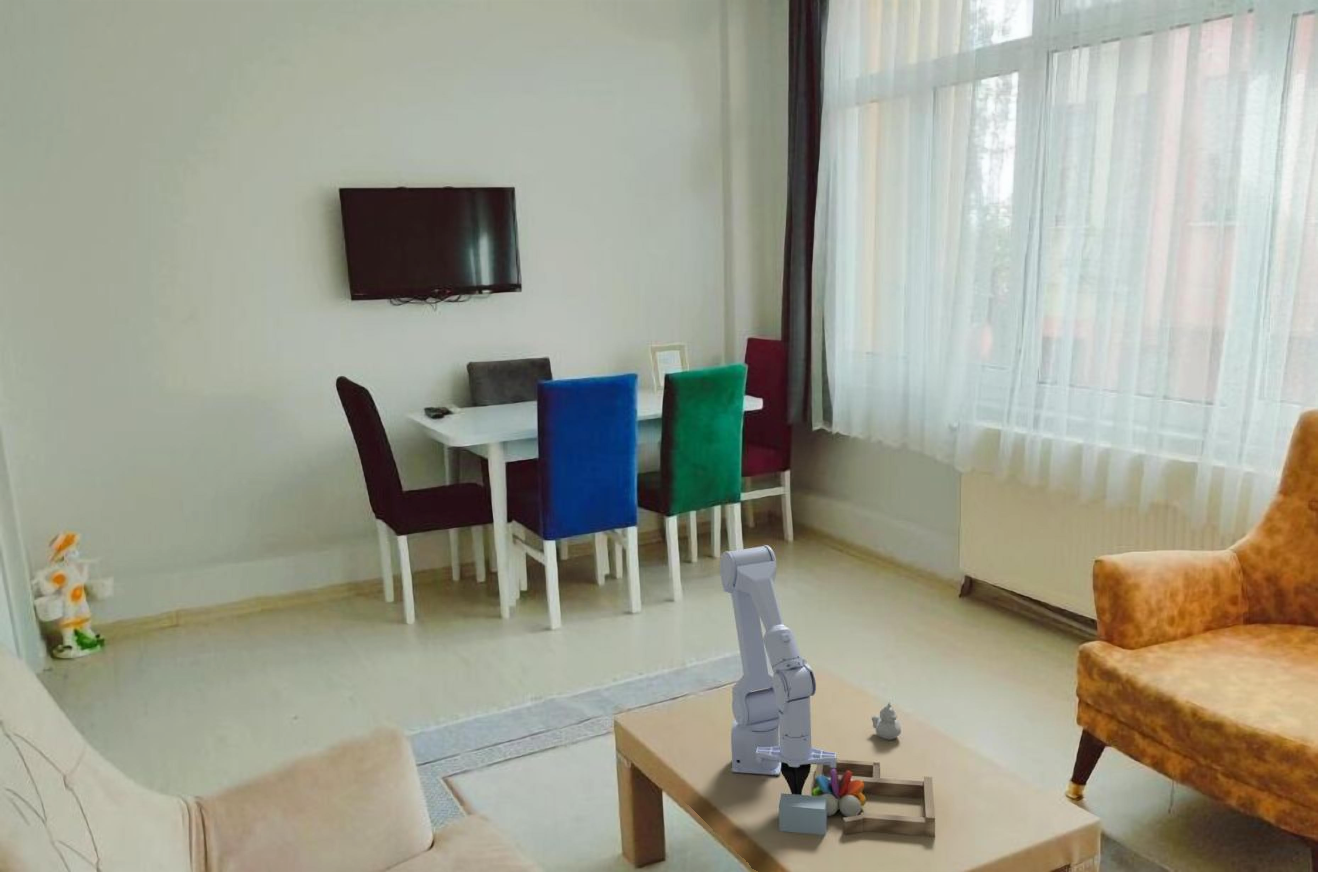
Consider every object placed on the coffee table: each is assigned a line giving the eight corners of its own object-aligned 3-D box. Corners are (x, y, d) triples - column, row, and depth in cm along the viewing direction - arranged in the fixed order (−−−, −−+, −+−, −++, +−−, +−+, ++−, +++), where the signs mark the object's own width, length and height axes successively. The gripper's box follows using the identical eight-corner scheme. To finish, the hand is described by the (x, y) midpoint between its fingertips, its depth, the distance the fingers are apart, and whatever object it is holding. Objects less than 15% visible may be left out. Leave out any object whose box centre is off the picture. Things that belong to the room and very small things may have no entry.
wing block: (779, 831, 170) (778, 805, 169) (782, 818, 174) (781, 793, 173) (825, 835, 168) (824, 809, 167) (827, 822, 172) (826, 797, 171)
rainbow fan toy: (866, 822, 172) (865, 784, 170) (811, 818, 174) (810, 781, 172) (865, 796, 180) (865, 760, 178) (813, 793, 182) (812, 757, 180)
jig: (808, 831, 169) (807, 813, 169) (817, 767, 190) (817, 751, 190) (935, 842, 164) (935, 823, 164) (930, 775, 185) (930, 758, 185)
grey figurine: (892, 746, 197) (892, 710, 196) (865, 736, 202) (864, 700, 200) (906, 736, 201) (906, 700, 199) (879, 727, 205) (879, 691, 204)
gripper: (752, 738, 174) (755, 807, 176) (834, 743, 170) (835, 814, 172) (757, 720, 180) (760, 786, 183) (836, 724, 177) (838, 793, 179)
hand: (797, 798), depth 178 cm, fingers closed
